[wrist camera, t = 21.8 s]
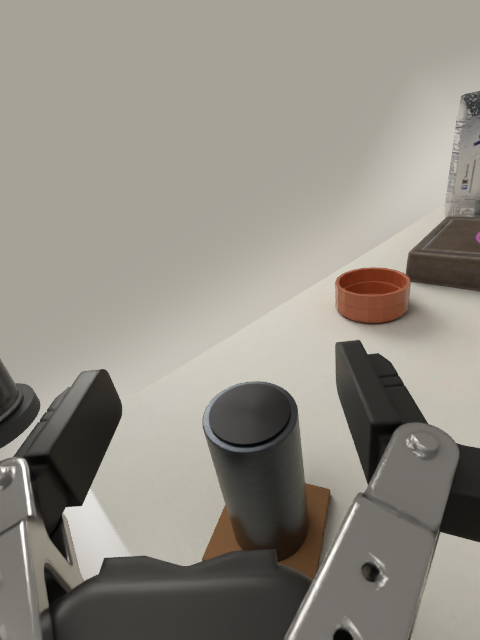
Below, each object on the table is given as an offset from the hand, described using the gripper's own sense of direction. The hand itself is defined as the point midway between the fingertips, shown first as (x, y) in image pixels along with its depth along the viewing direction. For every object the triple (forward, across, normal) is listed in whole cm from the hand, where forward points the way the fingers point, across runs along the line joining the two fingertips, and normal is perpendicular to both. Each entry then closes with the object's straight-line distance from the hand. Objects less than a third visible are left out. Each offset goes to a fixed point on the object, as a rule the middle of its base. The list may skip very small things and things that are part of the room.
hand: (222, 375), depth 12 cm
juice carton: (+74, +51, -19) cm, 91 cm away
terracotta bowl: (+36, +17, -19) cm, 44 cm away
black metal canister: (+5, 0, -18) cm, 19 cm away
